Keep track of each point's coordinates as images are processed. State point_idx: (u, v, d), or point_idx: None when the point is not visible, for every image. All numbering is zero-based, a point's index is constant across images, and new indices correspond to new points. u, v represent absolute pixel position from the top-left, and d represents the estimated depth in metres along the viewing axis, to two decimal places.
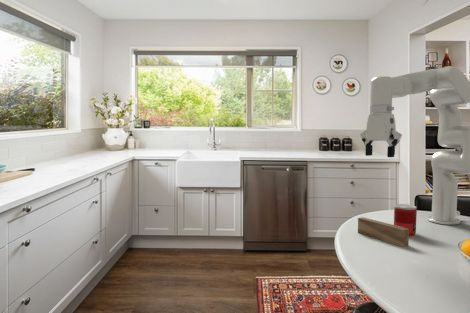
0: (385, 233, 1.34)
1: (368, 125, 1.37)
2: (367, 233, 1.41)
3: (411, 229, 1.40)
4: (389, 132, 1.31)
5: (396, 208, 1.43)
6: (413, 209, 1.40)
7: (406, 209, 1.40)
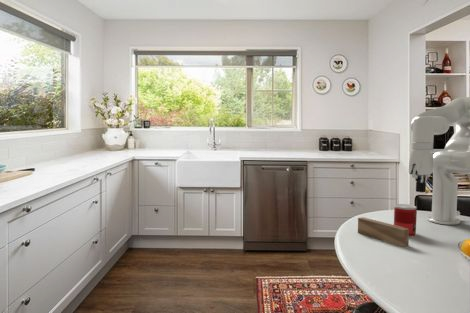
0: (385, 233, 1.34)
1: (421, 161, 1.43)
2: (367, 233, 1.41)
3: (411, 229, 1.40)
4: None
5: (396, 208, 1.43)
6: (413, 209, 1.40)
7: (406, 209, 1.40)
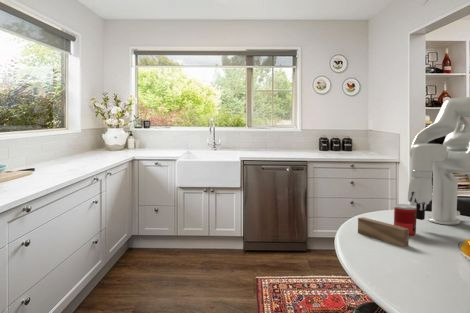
0: (385, 233, 1.34)
1: (420, 189, 1.44)
2: (367, 233, 1.41)
3: (411, 229, 1.40)
4: None
5: (396, 208, 1.43)
6: (413, 209, 1.40)
7: (406, 209, 1.40)
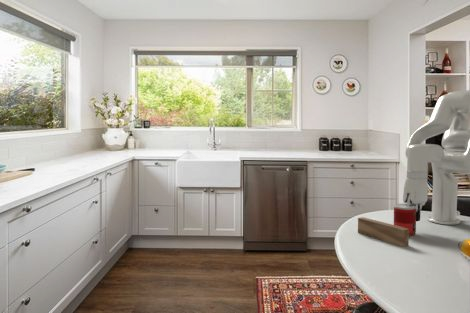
0: (385, 233, 1.34)
1: (416, 190, 1.43)
2: (367, 233, 1.41)
3: (411, 229, 1.40)
4: None
5: (395, 208, 1.43)
6: (412, 209, 1.40)
7: (406, 209, 1.40)
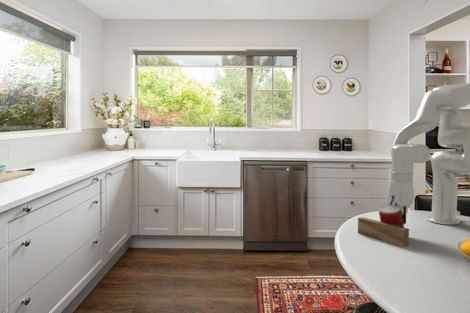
0: (385, 233, 1.34)
1: (401, 193, 1.37)
2: (367, 233, 1.41)
3: None
4: None
5: (380, 212, 1.38)
6: (397, 212, 1.34)
7: (390, 213, 1.35)
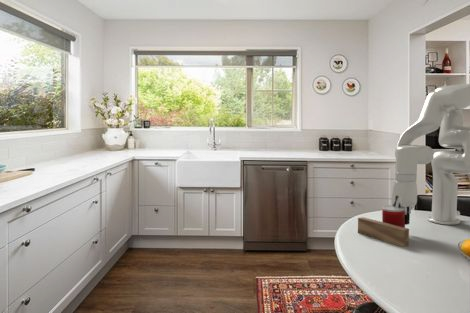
0: (385, 233, 1.34)
1: (404, 193, 1.39)
2: (367, 233, 1.41)
3: None
4: None
5: (384, 210, 1.39)
6: (401, 211, 1.36)
7: (394, 211, 1.36)
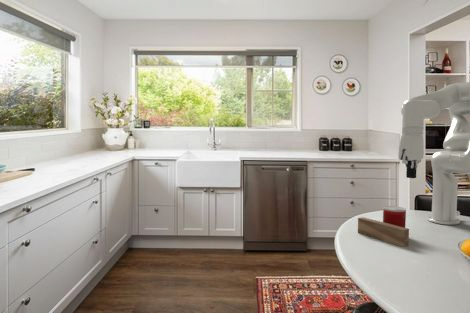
0: (385, 233, 1.34)
1: (411, 146, 1.39)
2: (367, 233, 1.41)
3: None
4: None
5: (385, 210, 1.39)
6: (402, 211, 1.36)
7: (395, 211, 1.36)
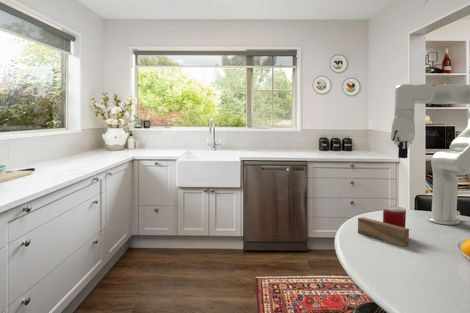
0: (385, 233, 1.34)
1: (403, 127, 1.49)
2: (367, 233, 1.41)
3: None
4: None
5: (385, 210, 1.39)
6: (402, 211, 1.36)
7: (395, 211, 1.36)
